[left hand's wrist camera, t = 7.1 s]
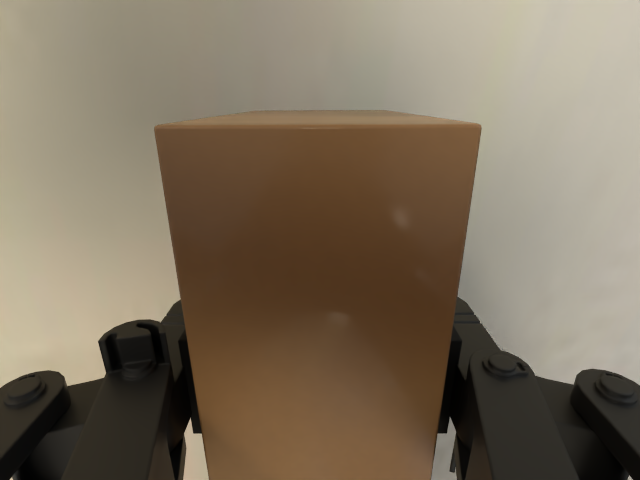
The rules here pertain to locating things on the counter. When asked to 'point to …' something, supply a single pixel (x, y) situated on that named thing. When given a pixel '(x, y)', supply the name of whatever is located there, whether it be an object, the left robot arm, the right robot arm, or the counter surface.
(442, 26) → the counter surface
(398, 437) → the post
